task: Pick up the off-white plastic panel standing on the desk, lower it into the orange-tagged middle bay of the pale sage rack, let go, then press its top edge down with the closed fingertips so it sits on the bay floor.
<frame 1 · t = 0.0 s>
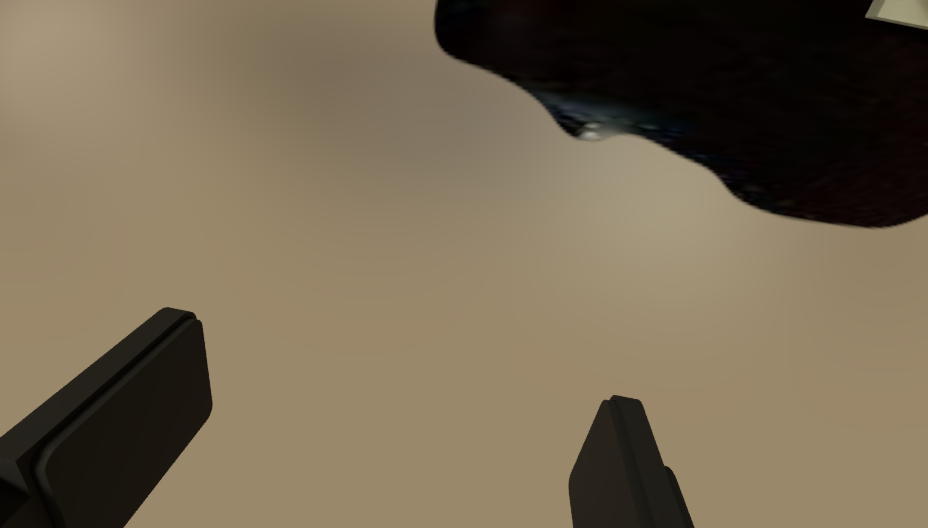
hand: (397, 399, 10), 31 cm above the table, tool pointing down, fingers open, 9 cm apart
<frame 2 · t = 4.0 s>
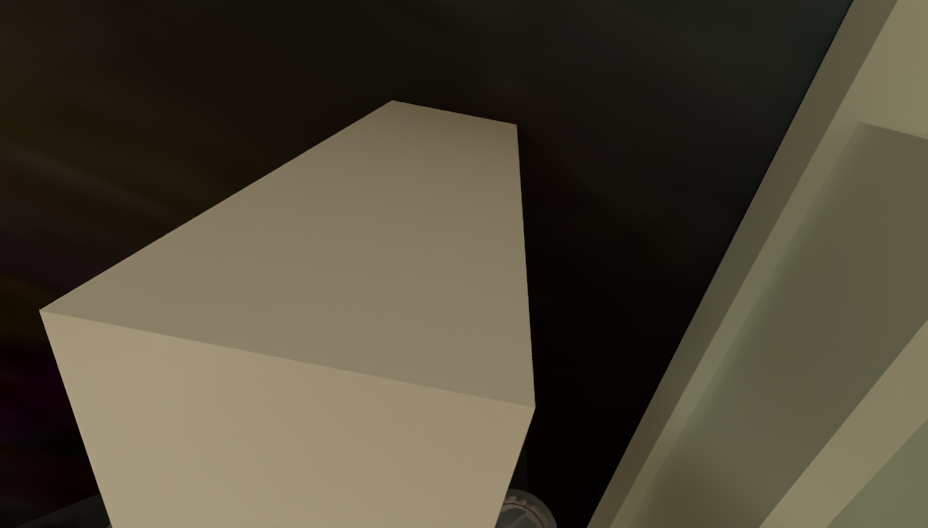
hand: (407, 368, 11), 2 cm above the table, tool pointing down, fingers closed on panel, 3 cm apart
panel: (422, 318, 13), on the table, touching gripper
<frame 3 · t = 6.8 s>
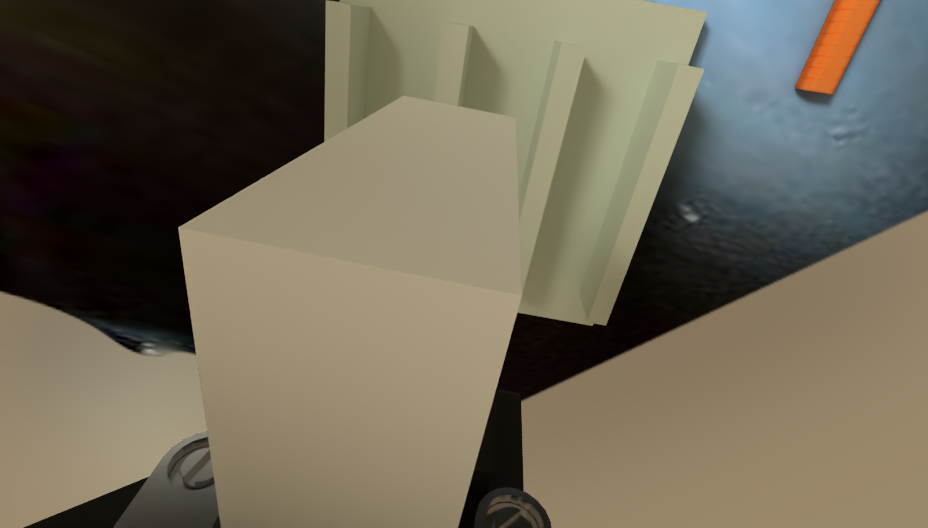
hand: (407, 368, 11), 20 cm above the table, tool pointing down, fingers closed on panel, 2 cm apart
panel: (429, 296, 15), point 16 cm above the table, touching gripper
rack: (489, 163, 29), on the table
when the fingers open (6 cm above the table, at t = 9.8 s): panel drops 1 cm, resting on rack.
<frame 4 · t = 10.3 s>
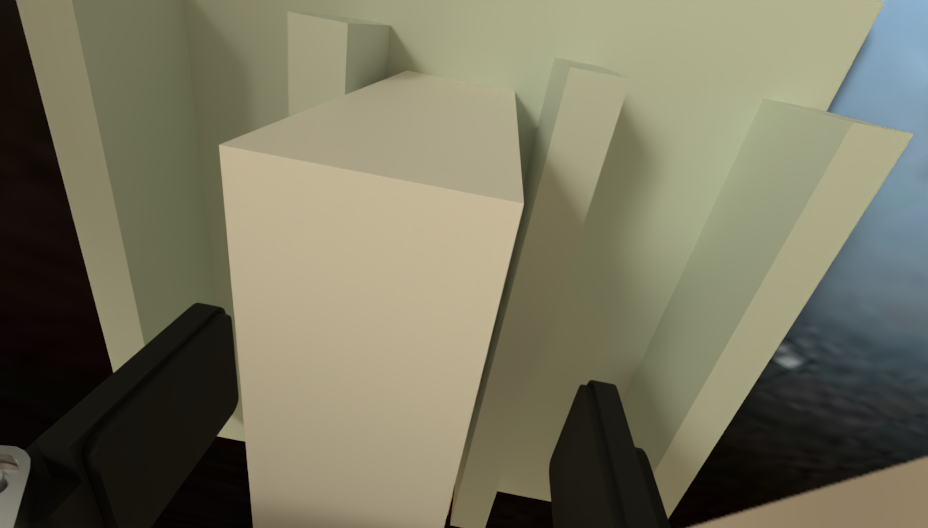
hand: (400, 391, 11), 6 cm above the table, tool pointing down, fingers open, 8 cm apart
panel: (431, 269, 15), point 1 cm above the table, touching rack
rack: (438, 266, 16), on the table
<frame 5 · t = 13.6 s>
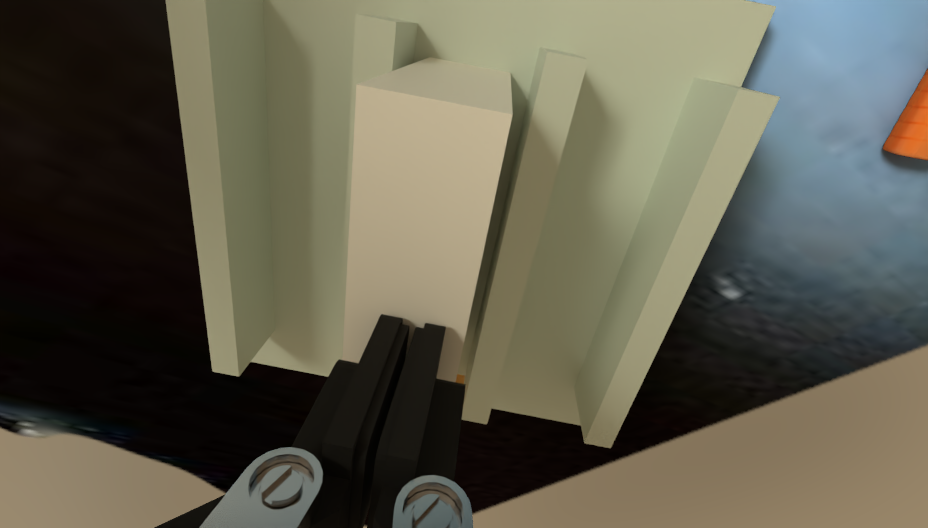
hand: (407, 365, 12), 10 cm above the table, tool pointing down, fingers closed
panel: (445, 215, 19), point 1 cm above the table, touching gripper, rack
rack: (450, 216, 21), on the table
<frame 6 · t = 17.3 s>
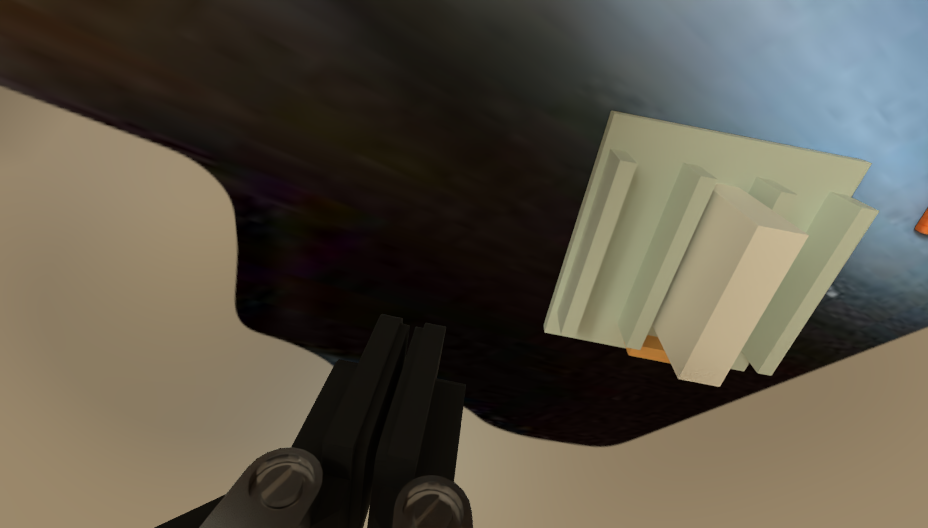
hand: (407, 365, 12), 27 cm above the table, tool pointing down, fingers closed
panel: (688, 253, 37), point 1 cm above the table, touching rack
rack: (682, 252, 38), on the table
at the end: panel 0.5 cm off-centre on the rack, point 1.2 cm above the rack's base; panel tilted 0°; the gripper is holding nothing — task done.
